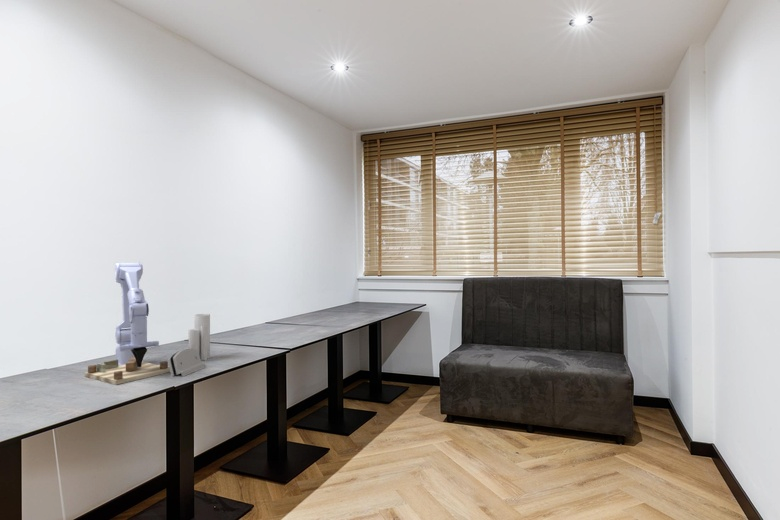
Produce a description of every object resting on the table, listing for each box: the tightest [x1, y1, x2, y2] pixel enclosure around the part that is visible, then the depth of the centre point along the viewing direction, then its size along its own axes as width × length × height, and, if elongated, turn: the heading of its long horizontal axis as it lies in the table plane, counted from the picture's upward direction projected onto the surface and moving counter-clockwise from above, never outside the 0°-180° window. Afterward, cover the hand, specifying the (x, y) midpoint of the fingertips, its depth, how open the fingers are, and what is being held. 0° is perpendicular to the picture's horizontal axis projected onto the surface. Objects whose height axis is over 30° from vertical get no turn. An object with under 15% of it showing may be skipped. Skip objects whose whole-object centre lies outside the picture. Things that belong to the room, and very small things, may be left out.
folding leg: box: [126, 357, 138, 371], centre depth 183 cm, size 12×3×3 cm, turn 19°
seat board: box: [84, 358, 171, 386], centre depth 180 cm, size 22×22×6 cm
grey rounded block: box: [167, 348, 206, 378], centre depth 185 cm, size 17×5×10 cm, turn 172°
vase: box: [188, 313, 211, 361], centre depth 205 cm, size 11×7×20 cm, turn 178°
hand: (139, 366), depth 181 cm, fingers closed
